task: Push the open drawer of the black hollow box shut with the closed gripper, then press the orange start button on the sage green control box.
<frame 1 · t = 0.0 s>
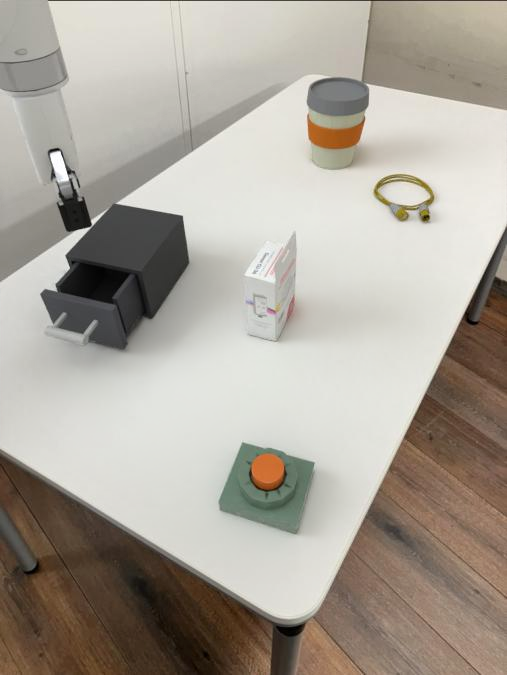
hand: (73, 208, 67), 19 cm above the table, tool pointing down, fingers open, 9 cm apart
drawer: (99, 301, 76), point 5 cm above the table, slide at 6.5 cm
start button: (267, 471, 56), point 4 cm above the table, slide at 0.1 cm
ink cartridge box: (270, 321, 79), on the table
black hollow box: (138, 281, 86), on the table
reusable coffee cup: (331, 160, 113), on the table
extension cord: (402, 200, 101), on the table
control box: (267, 490, 60), on the table
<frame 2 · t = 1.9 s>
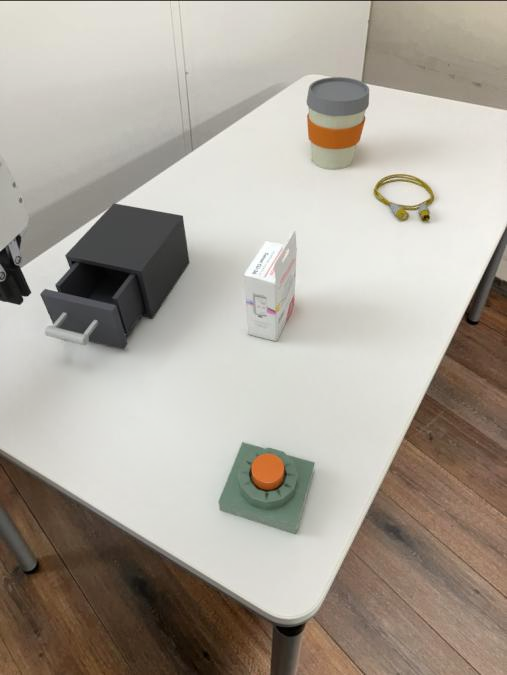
hand: (15, 296, 58), 17 cm above the table, tool pointing down, fingers closed
nothing on the table moved.
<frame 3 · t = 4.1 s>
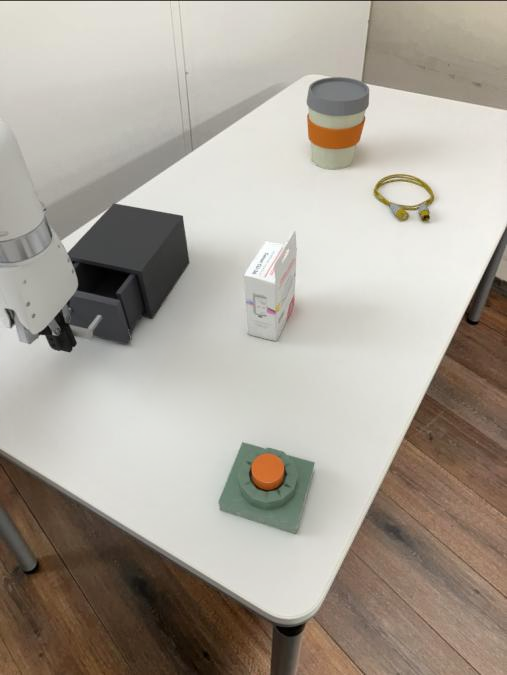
hand: (64, 346, 69), 5 cm above the table, tool pointing down, fingers closed
drawer: (103, 296, 76), point 5 cm above the table, slide at 5.4 cm, touching gripper
everything else where it was.
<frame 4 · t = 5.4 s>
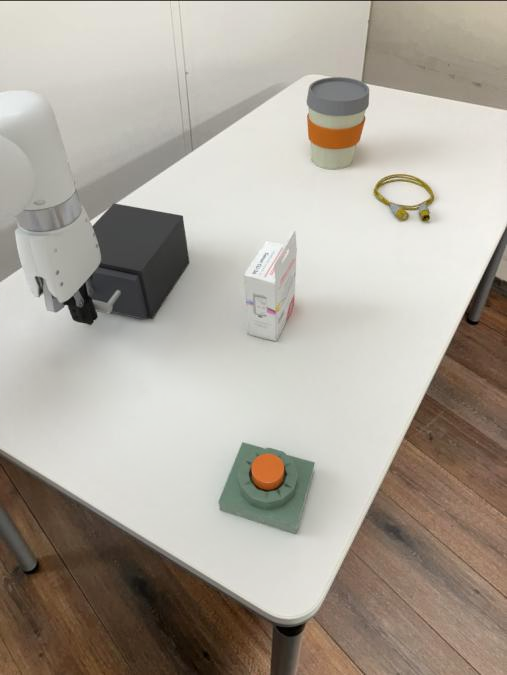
hand: (85, 319, 73), 5 cm above the table, tool pointing down, fingers closed
drawer: (120, 274, 80), point 5 cm above the table, slide at 0.0 cm, touching black hollow box, gripper
everything else where it was.
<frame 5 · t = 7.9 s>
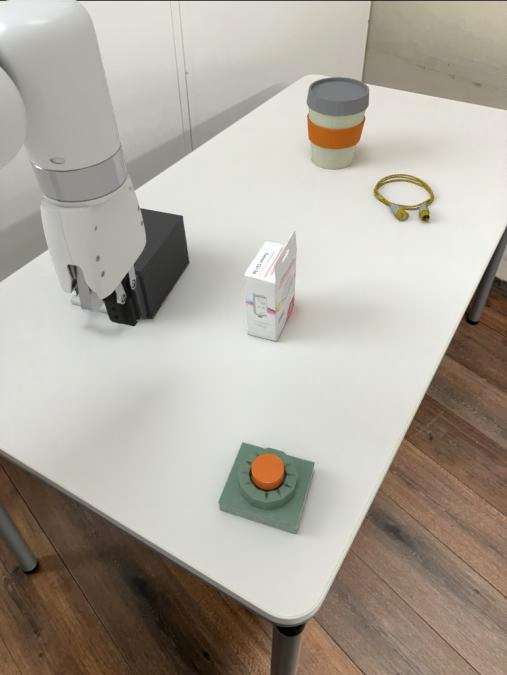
hand: (126, 319, 57), 16 cm above the table, tool pointing down, fingers closed
drawer: (120, 274, 80), point 5 cm above the table, slide at 0.0 cm
everything else where it was.
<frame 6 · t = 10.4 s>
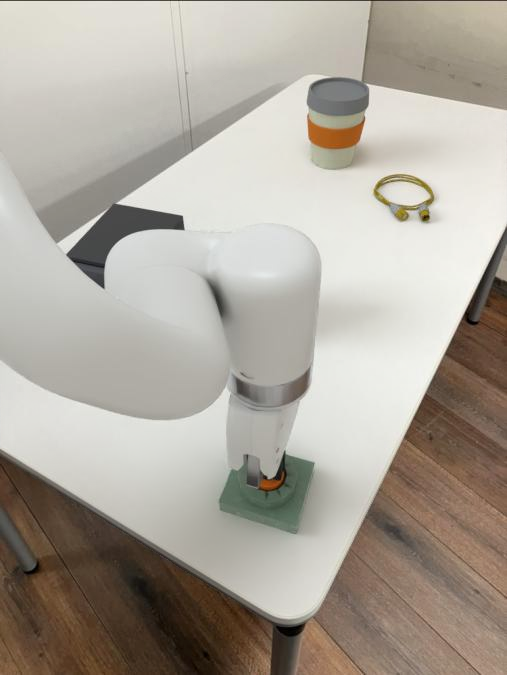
hand: (269, 470, 56), 5 cm above the table, tool pointing down, fingers closed
start button: (267, 475, 57), point 4 cm above the table, slide at -0.7 cm, touching gripper
everything else where it was.
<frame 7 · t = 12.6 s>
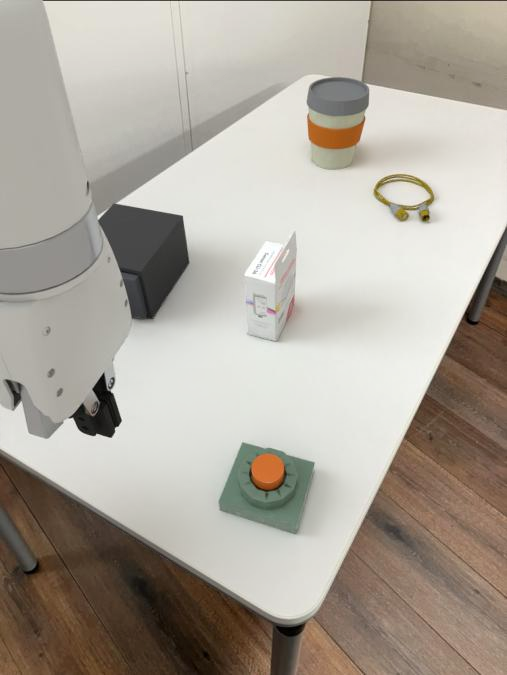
hand: (100, 425, 41), 21 cm above the table, tool pointing down, fingers closed
start button: (267, 471, 56), point 4 cm above the table, slide at 0.1 cm
everything else where it was.
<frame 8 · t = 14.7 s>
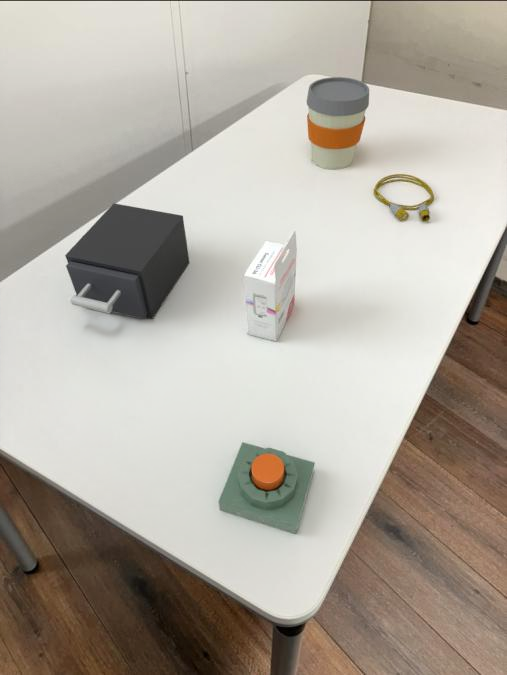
nothing on the table moved.
at the end: drawer slide at 0.0 cm; start button pushed in 1.1 cm at the most during the clip, back to where it started at the end; start button slide at 0.1 cm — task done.
